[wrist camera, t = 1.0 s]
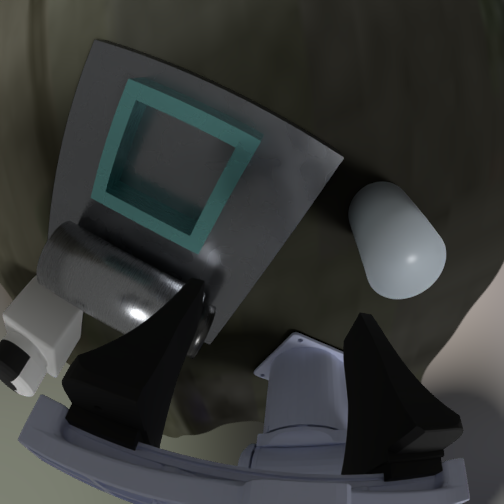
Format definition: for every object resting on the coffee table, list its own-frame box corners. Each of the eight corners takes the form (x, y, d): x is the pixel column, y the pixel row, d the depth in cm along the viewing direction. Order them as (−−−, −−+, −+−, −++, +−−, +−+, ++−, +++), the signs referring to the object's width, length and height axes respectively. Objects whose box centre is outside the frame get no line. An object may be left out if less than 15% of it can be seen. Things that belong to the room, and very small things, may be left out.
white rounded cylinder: (422, 205, 20) (460, 253, 14) (383, 252, 22) (406, 309, 17) (374, 168, 19) (406, 208, 13) (335, 221, 21) (348, 276, 16)
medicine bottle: (38, 309, 32) (-10, 377, 22) (36, 272, 28) (-25, 346, 18) (81, 337, 33) (38, 412, 23) (85, 303, 29) (30, 388, 19)
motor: (340, 151, 19) (364, 191, 13) (213, 333, 29) (196, 394, 23) (106, 40, 15) (38, 39, 9) (54, 248, 26) (13, 292, 20)
